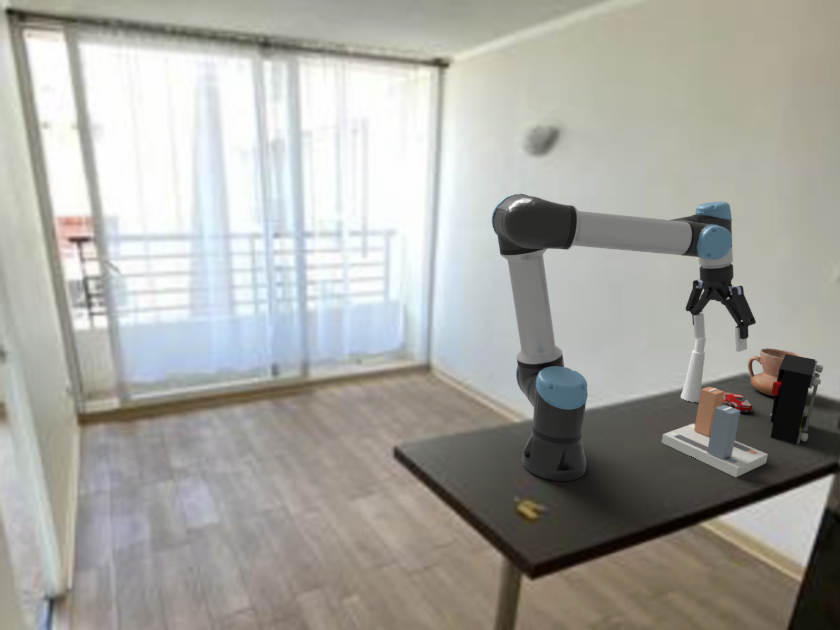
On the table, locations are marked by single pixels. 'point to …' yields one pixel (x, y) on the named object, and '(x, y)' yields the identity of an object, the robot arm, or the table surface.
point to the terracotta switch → (707, 409)
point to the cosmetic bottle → (695, 372)
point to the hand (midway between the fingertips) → (719, 343)
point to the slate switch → (723, 431)
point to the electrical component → (793, 398)
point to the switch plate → (697, 448)
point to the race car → (737, 402)
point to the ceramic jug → (767, 369)
